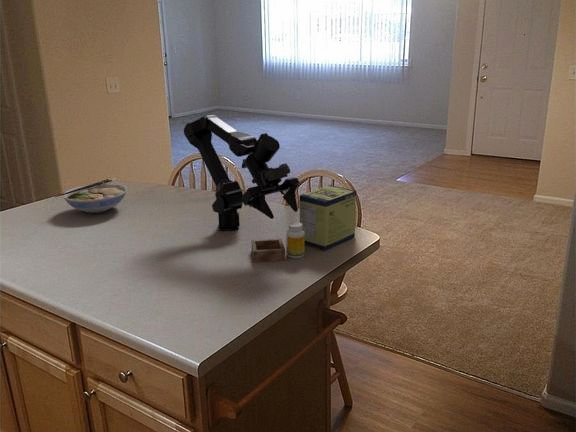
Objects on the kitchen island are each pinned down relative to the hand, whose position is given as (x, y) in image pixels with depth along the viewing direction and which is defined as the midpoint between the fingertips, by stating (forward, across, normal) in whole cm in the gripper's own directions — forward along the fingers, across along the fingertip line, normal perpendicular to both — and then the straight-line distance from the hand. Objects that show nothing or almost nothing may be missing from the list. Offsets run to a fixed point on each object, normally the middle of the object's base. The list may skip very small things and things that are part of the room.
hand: (285, 214), depth 154 cm
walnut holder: (+7, -6, +9) cm, 13 cm away
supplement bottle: (+11, 0, +5) cm, 12 cm away
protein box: (+10, +15, +7) cm, 19 cm away
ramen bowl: (-47, -25, +63) cm, 83 cm away
